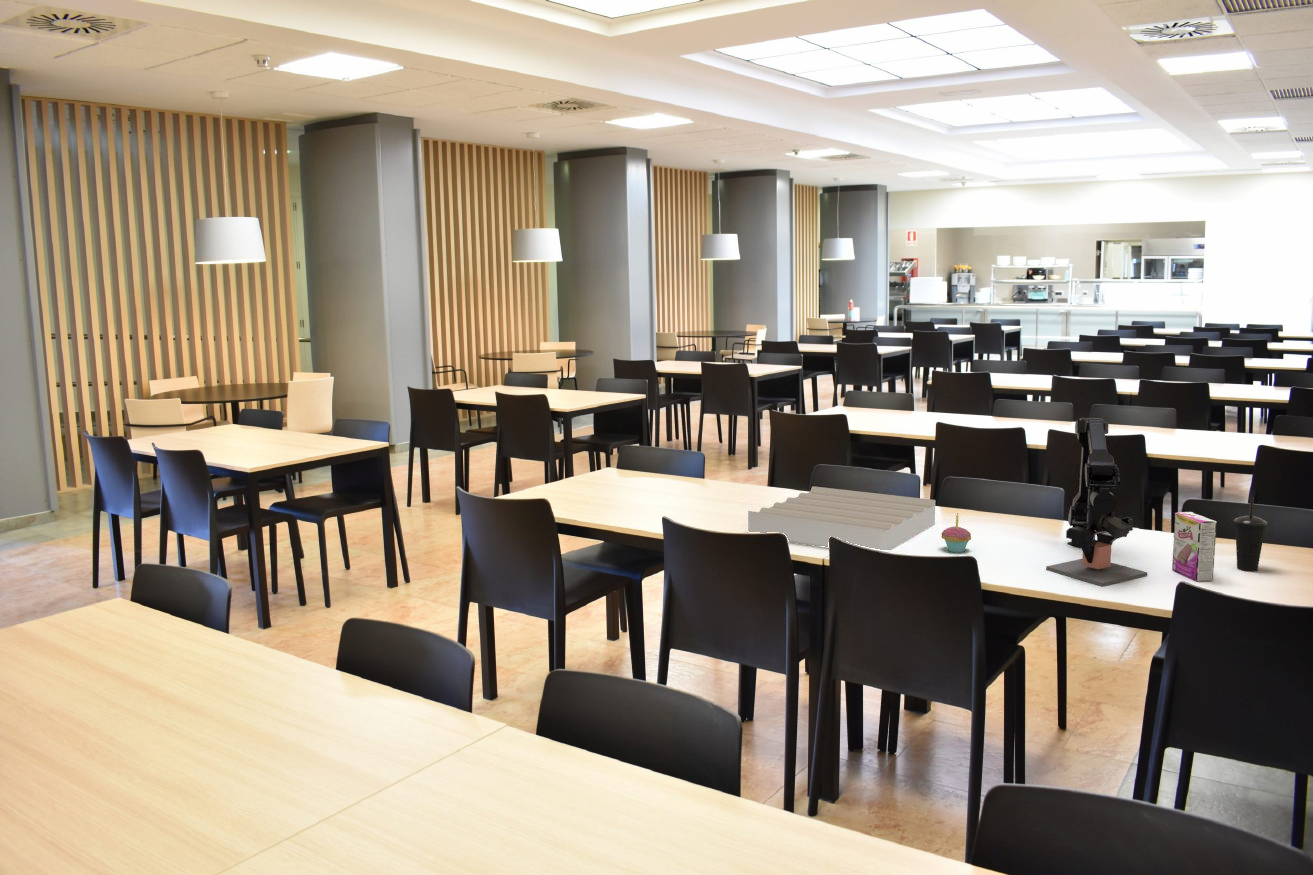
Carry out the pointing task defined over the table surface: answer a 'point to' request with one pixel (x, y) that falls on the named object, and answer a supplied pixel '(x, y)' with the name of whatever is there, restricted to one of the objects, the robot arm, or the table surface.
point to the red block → (1099, 556)
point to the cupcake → (956, 537)
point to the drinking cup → (1249, 540)
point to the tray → (846, 518)
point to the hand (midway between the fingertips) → (1096, 561)
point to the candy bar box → (1194, 546)
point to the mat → (1097, 572)
